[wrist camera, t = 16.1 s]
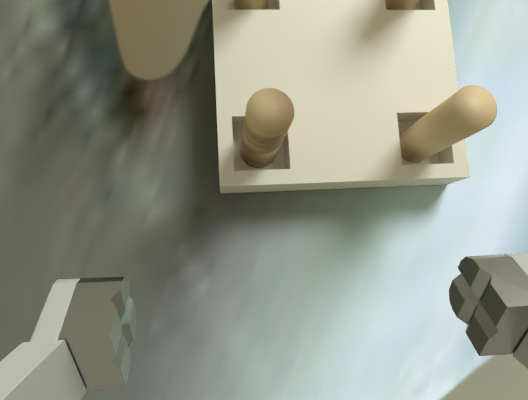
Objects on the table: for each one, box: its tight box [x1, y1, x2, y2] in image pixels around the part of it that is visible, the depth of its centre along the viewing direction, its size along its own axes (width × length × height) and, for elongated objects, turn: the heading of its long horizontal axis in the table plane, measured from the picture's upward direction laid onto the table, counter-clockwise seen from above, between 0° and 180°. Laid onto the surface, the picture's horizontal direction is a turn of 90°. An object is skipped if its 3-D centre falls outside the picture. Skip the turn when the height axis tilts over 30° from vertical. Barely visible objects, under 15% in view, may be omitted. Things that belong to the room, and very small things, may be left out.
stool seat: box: [212, 0, 497, 193], centre depth 39 cm, size 24×24×12 cm
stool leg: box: [240, 88, 294, 168], centre depth 36 cm, size 4×4×11 cm
